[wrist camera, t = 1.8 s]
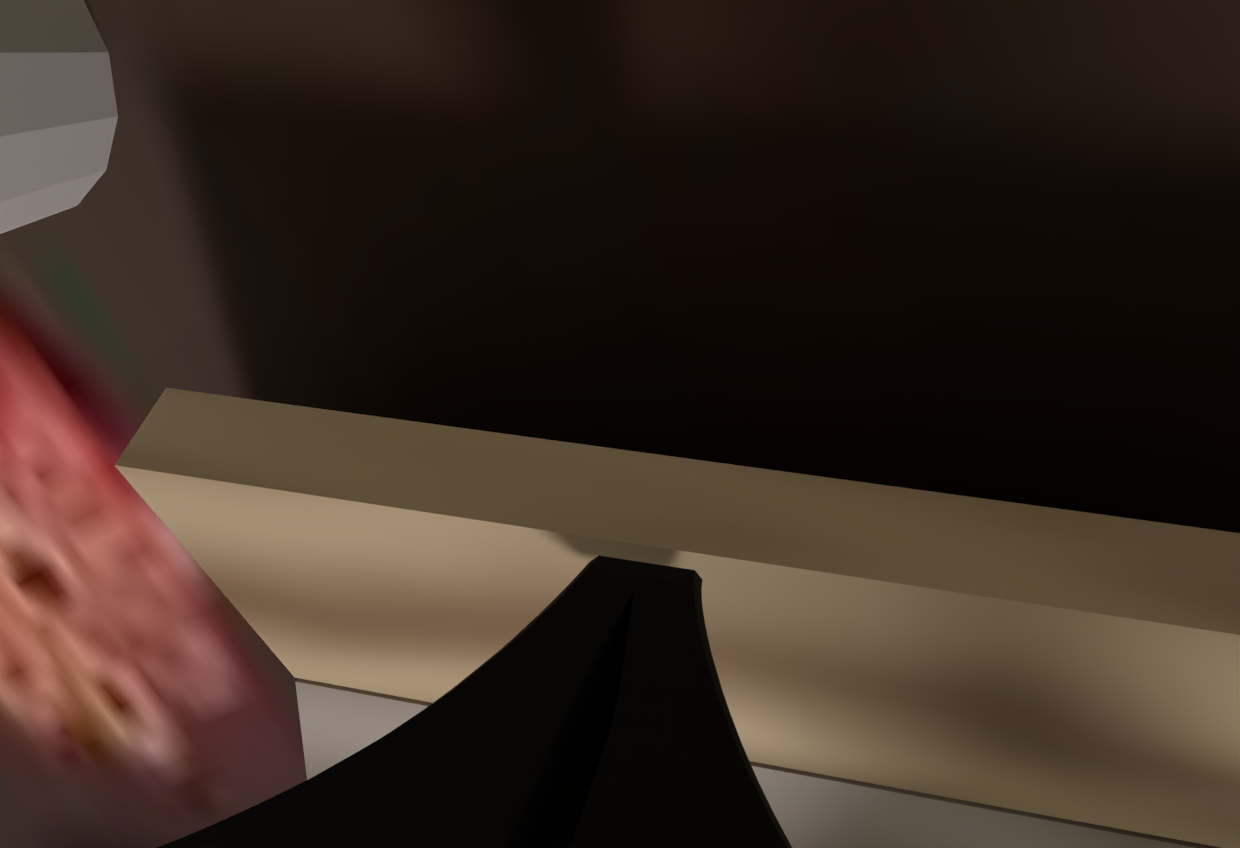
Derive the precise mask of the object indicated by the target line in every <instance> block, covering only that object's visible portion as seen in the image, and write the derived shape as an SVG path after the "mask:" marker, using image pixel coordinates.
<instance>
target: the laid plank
mask: <svg viewBox="0 0 1240 848" xmlns="http://www.w3.org/2000/svg"><path fill="white" fill-rule="evenodd" d="M296 691H297V699H298V707H299V715H300V724H301V732H302V740H303V748H304V757H305V765H306V773H307V780H308V779H310V778H312V777H314V776H315V775H317V774H319V773H321V772H323V771H324V770H326V769H328V768H330V767H331V766H333V765H335V764H337V763H339V762H340V761H342V760H344V759H346V758H347V757H349V756H351V755H353V754H354V753H356V752H358V751H360V750H362V749H363V748H365V747H367V746H368V745H370V744H372V743H373V742H375V741H377V740H378V739H380V738H382V737H383V736H385V735H386V734H388V733H389V732H391V731H393V730H394V729H396V728H397V727H398V726H400V725H401V724H403V723H404V722H406V721H407V720H409V719H410V718H412V717H413V716H415V715H416V714H418V713H419V712H421V711H422V710H424V709H425V708H426V707H428V706H429V705H431V704H432V703H431V702H426V701H420V700H415V699H409V698H404V697H398V696H393V695H387V694H382V693H377V692H371V691H366V690H360V689H355V688H349V687H344V686H338V685H333V684H328V683H322V682H317V681H311V680H306V679H300V678H298V679H297V680H296ZM749 762H750V764H751V766H752V769H753V771H754V773H755V775H756V777H757V780H758V782H759V784H760V786H761V788H762V790H763V792H764V794H765V796H766V798H767V800H768V802H769V804H770V807H771V809H772V811H773V813H774V814H775V816H776V818H777V820H778V822H779V824H780V826H781V828H782V829H783V831H784V833H785V835H786V837H787V839H788V841H789V843H790V844H791V846H792V848H1220V847H1215V846H1209V845H1204V844H1199V843H1193V842H1188V841H1182V840H1177V839H1171V838H1166V837H1160V836H1155V835H1150V834H1144V833H1139V832H1133V831H1128V830H1122V829H1117V828H1111V827H1106V826H1101V825H1095V824H1090V823H1084V822H1079V821H1073V820H1068V819H1062V818H1057V817H1052V816H1046V815H1041V814H1035V813H1030V812H1024V811H1019V810H1013V809H1008V808H1003V807H997V806H992V805H986V804H981V803H975V802H970V801H964V800H959V799H954V798H948V797H943V796H937V795H932V794H926V793H921V792H915V791H910V790H905V789H899V788H894V787H888V786H883V785H877V784H872V783H866V782H861V781H856V780H850V779H845V778H839V777H834V776H828V775H823V774H817V773H812V772H807V771H801V770H796V769H790V768H785V767H779V766H774V765H768V764H763V763H758V762H752V761H749Z"/></svg>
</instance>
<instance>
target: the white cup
mask: <svg viewBox="0 0 1240 848" xmlns="http://www.w3.org/2000/svg"><path fill="white" fill-rule="evenodd" d="M117 119H118V113H117V106H116V99H115V92H114V86H113V79H112V72H111V65H110V58H109V52H108V50H107V48H106V46H105V44H104V42H103V39H102V37H101V35H100V33H99V31H98V29H97V27H96V25H95V23H94V20H93V18H92V16H91V14H90V12H89V10H88V8H87V6H86V4H85V1H84V0H0V234H1V233H4V232H7V231H10V230H12V229H15V228H18V227H20V226H23V225H26V224H29V223H31V222H34V221H37V220H40V219H42V218H45V217H48V216H50V215H53V214H56V213H59V212H61V211H64V210H67V209H70V208H72V207H75V206H77V205H78V204H79V203H80V201H81V200H82V199H83V198H84V197H85V195H86V194H87V193H88V192H89V190H90V189H91V188H92V187H93V186H94V184H95V183H96V182H97V181H98V179H99V178H100V177H101V176H102V174H103V173H104V172H105V171H106V169H107V164H108V160H109V155H110V151H111V146H112V142H113V137H114V132H115V128H116V123H117Z"/></svg>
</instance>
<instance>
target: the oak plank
mask: <svg viewBox="0 0 1240 848" xmlns="http://www.w3.org/2000/svg"><path fill="white" fill-rule="evenodd" d="M115 466H116V468H117V469H118V470H119V471H120V472H121V474H122V475H123V476H124V477H125V478H126V479H127V481H128V482H129V483H130V484H131V485H132V486H133V488H134V489H135V490H136V491H137V492H138V494H139V495H140V496H141V497H142V498H143V499H144V501H145V502H146V503H147V504H148V505H149V506H150V508H151V509H152V510H153V511H154V512H155V514H156V515H157V516H158V517H159V518H160V519H161V521H162V522H163V523H164V524H165V525H166V526H167V528H168V529H169V530H170V531H171V532H172V534H173V535H174V536H175V537H176V538H177V539H178V541H179V542H180V543H181V544H182V545H183V547H184V548H185V549H186V550H187V551H188V552H189V554H190V555H191V556H192V557H193V558H194V559H195V561H196V562H197V563H198V564H199V565H200V567H201V568H202V569H203V570H204V571H205V572H206V574H207V575H208V576H209V577H210V578H211V579H212V581H213V582H214V583H215V584H216V585H217V587H218V588H219V589H220V590H221V591H222V592H223V594H224V595H225V596H226V597H227V598H228V599H229V601H230V602H231V603H232V604H233V605H234V607H235V608H236V609H237V610H238V611H239V612H240V614H241V615H242V616H243V617H244V618H245V619H246V621H247V622H248V623H249V624H250V625H251V627H252V628H253V629H254V630H255V631H256V632H257V634H258V635H259V636H260V637H261V638H262V640H263V641H264V642H265V643H266V644H267V645H268V647H269V648H270V649H271V650H272V651H273V652H274V654H275V655H276V656H277V657H278V658H279V660H280V661H281V662H282V663H283V664H284V665H285V667H286V668H287V669H288V670H289V671H290V672H291V674H292V675H293V676H294V677H295V678H300V679H306V680H311V681H317V682H322V683H328V684H333V685H338V686H344V687H349V688H355V689H360V690H366V691H371V692H377V693H382V694H387V695H393V696H398V697H404V698H409V699H415V700H420V701H426V702H431V703H433V702H435V701H436V700H438V699H439V698H440V697H442V696H443V695H444V694H446V693H447V692H448V691H450V690H451V689H452V688H454V687H455V686H456V685H458V684H459V683H460V682H461V681H462V680H464V679H465V678H466V677H467V676H469V675H470V674H471V673H472V672H474V671H475V670H476V669H477V668H478V667H480V666H481V665H482V664H483V663H485V662H486V661H487V660H488V659H489V658H491V657H492V656H493V655H494V654H496V653H497V652H498V651H499V650H500V649H502V648H503V647H504V646H505V645H506V644H507V643H508V642H510V641H511V640H512V639H513V638H514V637H515V636H516V635H517V634H518V633H519V632H520V631H521V630H523V629H524V628H525V627H526V626H527V625H528V624H529V623H530V622H531V621H532V620H533V619H534V618H535V617H537V616H538V615H539V614H540V613H541V612H542V611H543V610H544V609H545V608H546V607H547V606H548V605H549V604H550V603H551V602H552V601H553V600H554V599H555V598H556V597H557V596H558V595H559V594H560V593H561V592H562V591H563V590H564V589H565V588H566V587H567V586H568V585H569V584H570V583H571V582H572V581H573V579H574V578H575V577H576V576H577V575H578V574H579V573H580V572H581V571H582V570H583V569H584V567H585V566H586V565H587V564H588V563H589V562H590V561H591V560H593V559H594V558H596V557H597V556H599V555H600V556H606V557H613V558H619V559H626V560H632V561H639V562H645V563H652V564H658V565H665V566H671V567H678V568H684V569H691V570H695V571H696V572H697V573H698V575H699V576H700V577H701V578H702V580H703V581H702V607H703V614H704V620H705V626H706V631H707V636H708V641H709V645H710V649H711V653H712V657H713V660H714V663H715V667H716V670H717V674H718V677H719V680H720V684H721V687H722V691H723V694H724V697H725V700H726V702H727V705H728V708H729V711H730V714H731V717H732V719H733V722H734V724H735V727H736V730H737V732H738V735H739V737H740V740H741V743H742V745H743V747H744V750H745V752H746V755H747V757H748V759H749V761H752V762H758V763H763V764H768V765H774V766H779V767H785V768H790V769H796V770H801V771H807V772H812V773H817V774H823V775H828V776H834V777H839V778H845V779H850V780H856V781H861V782H866V783H872V784H877V785H883V786H888V787H894V788H899V789H905V790H910V791H915V792H921V793H926V794H932V795H937V796H943V797H948V798H954V799H959V800H964V801H970V802H975V803H981V804H986V805H992V806H997V807H1003V808H1008V809H1013V810H1019V811H1024V812H1030V813H1035V814H1041V815H1046V816H1052V817H1057V818H1062V819H1068V820H1073V821H1079V822H1084V823H1090V824H1095V825H1101V826H1106V827H1111V828H1117V829H1122V830H1128V831H1133V832H1139V833H1144V834H1150V835H1155V836H1160V837H1166V838H1171V839H1177V840H1182V841H1188V842H1193V843H1199V844H1204V845H1209V846H1215V847H1220V848H1240V533H1234V532H1227V531H1219V530H1212V529H1205V528H1197V527H1190V526H1183V525H1175V524H1168V523H1160V522H1153V521H1146V520H1138V519H1131V518H1123V517H1116V516H1109V515H1101V514H1094V513H1087V512H1079V511H1072V510H1064V509H1057V508H1050V507H1042V506H1035V505H1027V504H1020V503H1013V502H1005V501H998V500H991V499H983V498H976V497H968V496H961V495H954V494H946V493H939V492H931V491H924V490H917V489H909V488H902V487H895V486H887V485H880V484H872V483H865V482H858V481H850V480H843V479H835V478H828V477H821V476H813V475H806V474H799V473H791V472H784V471H776V470H769V469H762V468H754V467H747V466H739V465H732V464H725V463H717V462H710V461H703V460H695V459H688V458H680V457H673V456H666V455H658V454H651V453H643V452H636V451H629V450H621V449H614V448H607V447H599V446H592V445H584V444H577V443H570V442H562V441H555V440H547V439H540V438H533V437H525V436H518V435H511V434H503V433H496V432H488V431H481V430H474V429H466V428H459V427H451V426H444V425H437V424H429V423H422V422H415V421H407V420H400V419H392V418H385V417H378V416H370V415H363V414H355V413H348V412H341V411H333V410H326V409H319V408H311V407H304V406H296V405H289V404H282V403H274V402H267V401H259V400H252V399H245V398H237V397H230V396H223V395H215V394H208V393H200V392H193V391H186V390H178V389H171V388H166V389H165V390H164V392H163V393H162V395H161V396H160V398H159V399H158V401H157V402H156V404H155V405H154V407H153V408H152V410H151V411H150V413H149V414H148V416H147V417H146V419H145V420H144V422H143V423H142V425H141V426H140V428H139V429H138V431H137V432H136V434H135V435H134V437H133V438H132V440H131V441H130V443H129V444H128V446H127V447H126V449H125V450H124V452H123V453H122V455H121V456H120V458H119V459H118V461H117V462H116V464H115Z"/></svg>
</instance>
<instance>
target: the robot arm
mask: <svg viewBox="0 0 1240 848" xmlns="http://www.w3.org/2000/svg"><path fill="white" fill-rule="evenodd" d="M702 581H703V580H702V578H701V577H700V576H699V575H698V573H697V572H696V571H695V570H691V569H684V568H678V567H671V566H665V565H658V564H652V563H645V562H639V561H632V560H626V559H619V558H613V557H606V556H600V555H599V556H597V557H596V558H594V559H593V560H591V561H590V562H589V563H588V564H587V565H586V566H585V567H584V569H583V570H582V571H581V572H580V573H579V574H578V575H577V576H576V577H575V578H574V579H573V581H572V582H571V583H570V584H569V585H568V586H567V587H566V588H565V589H564V590H563V591H562V592H561V593H560V594H559V595H558V596H557V597H556V598H555V599H554V600H553V601H552V602H551V603H550V604H549V605H548V606H547V607H546V608H545V609H544V610H543V611H542V612H541V613H540V614H539V615H538V616H537V617H535V618H534V619H533V620H532V621H531V622H530V623H529V624H528V625H527V626H526V627H525V628H524V629H523V630H521V631H520V632H519V633H518V634H517V635H516V636H515V637H514V638H513V639H512V640H511V641H510V642H508V643H507V644H506V645H505V646H504V647H503V648H502V649H500V650H499V651H498V652H497V653H496V654H494V655H493V656H492V657H491V658H489V659H488V660H487V661H486V662H485V663H483V664H482V665H481V666H480V667H478V668H477V669H476V670H475V671H474V672H472V673H471V674H470V675H469V676H467V677H466V678H465V679H464V680H462V681H461V682H460V683H459V684H458V685H456V686H455V687H454V688H452V689H451V690H450V691H448V692H447V693H446V694H444V695H443V696H442V697H440V698H439V699H438V700H436V701H435V702H433V703H432V704H431V705H429V706H428V707H426V708H425V709H424V710H422V711H421V712H419V713H418V714H416V715H415V716H413V717H412V718H410V719H409V720H407V721H406V722H404V723H403V724H401V725H400V726H398V727H397V728H396V729H394V730H393V731H391V732H389V733H388V734H386V735H385V736H383V737H382V738H380V739H378V740H377V741H375V742H373V743H372V744H370V745H368V746H367V747H365V748H363V749H362V750H360V751H358V752H356V753H354V754H353V755H351V756H349V757H347V758H346V759H344V760H342V761H340V762H339V763H337V764H335V765H333V766H331V767H330V768H328V769H326V770H324V771H323V772H321V773H319V774H317V775H315V776H314V777H312V778H310V779H308V780H306V781H304V782H302V783H301V784H299V785H297V786H295V787H293V788H291V789H289V790H286V791H284V792H282V793H280V794H278V795H276V796H274V797H272V798H270V799H268V800H266V801H264V802H262V803H260V804H258V805H256V806H253V807H251V808H249V809H247V810H245V811H242V812H240V813H238V814H236V815H234V816H231V817H229V818H227V819H225V820H223V821H220V822H218V823H216V824H214V825H211V826H209V827H207V828H204V829H202V830H200V831H197V832H195V833H193V834H190V835H188V836H185V837H183V838H181V839H178V840H175V841H173V842H170V843H168V844H165V845H162V846H160V847H157V848H792V846H791V844H790V843H789V841H788V839H787V837H786V835H785V833H784V831H783V829H782V828H781V826H780V824H779V822H778V820H777V818H776V816H775V814H774V813H773V811H772V809H771V807H770V804H769V802H768V800H767V798H766V796H765V794H764V792H763V790H762V788H761V786H760V784H759V782H758V780H757V777H756V775H755V773H754V771H753V769H752V766H751V764H750V762H749V759H748V757H747V755H746V752H745V750H744V747H743V745H742V743H741V740H740V737H739V735H738V732H737V730H736V727H735V724H734V722H733V719H732V717H731V714H730V711H729V708H728V705H727V702H726V700H725V697H724V694H723V691H722V687H721V684H720V680H719V677H718V674H717V670H716V667H715V663H714V660H713V657H712V653H711V649H710V645H709V641H708V636H707V631H706V626H705V620H704V614H703V607H702Z"/></svg>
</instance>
